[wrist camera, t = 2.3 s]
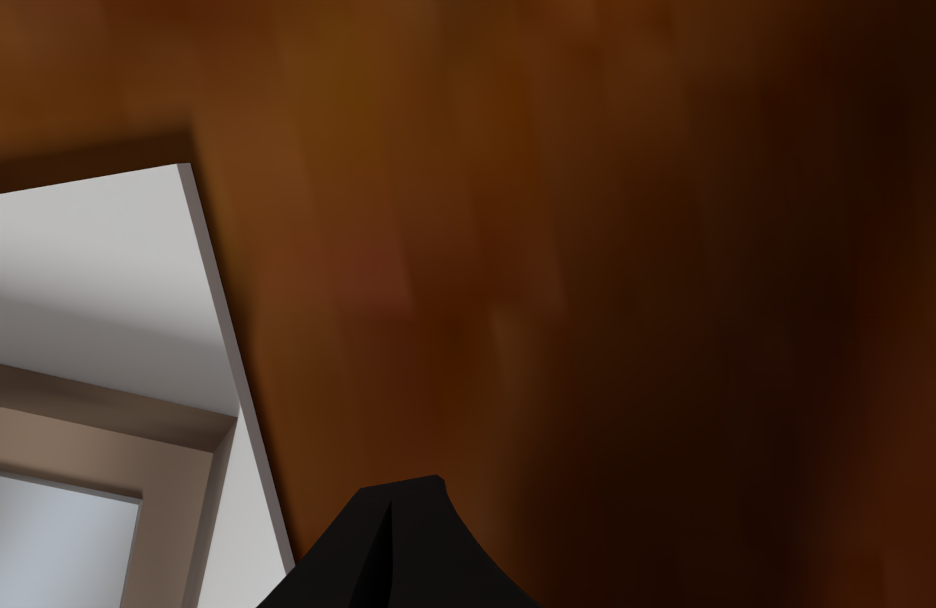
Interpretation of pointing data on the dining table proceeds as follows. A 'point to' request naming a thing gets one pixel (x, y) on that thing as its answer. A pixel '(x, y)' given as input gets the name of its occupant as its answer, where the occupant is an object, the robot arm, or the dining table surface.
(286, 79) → the dining table surface
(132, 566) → the frame
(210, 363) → the wall board
